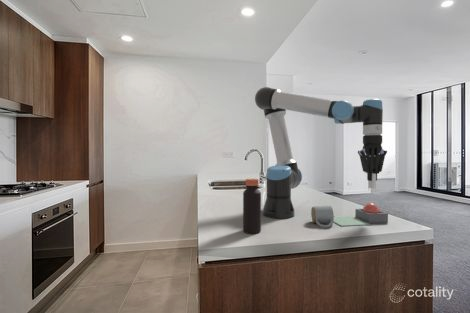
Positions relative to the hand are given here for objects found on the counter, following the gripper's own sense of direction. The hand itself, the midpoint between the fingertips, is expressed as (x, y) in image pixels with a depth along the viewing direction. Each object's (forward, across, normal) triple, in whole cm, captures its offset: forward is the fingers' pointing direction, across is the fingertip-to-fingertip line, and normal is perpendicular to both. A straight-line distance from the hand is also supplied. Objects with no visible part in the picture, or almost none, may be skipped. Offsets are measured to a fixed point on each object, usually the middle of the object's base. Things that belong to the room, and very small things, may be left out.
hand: (372, 187), depth 107 cm
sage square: (+14, -12, 0) cm, 19 cm away
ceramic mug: (+15, -24, -2) cm, 29 cm away
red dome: (+12, 0, 0) cm, 12 cm away
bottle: (+14, -56, -7) cm, 58 cm away
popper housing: (+14, 0, 0) cm, 14 cm away
